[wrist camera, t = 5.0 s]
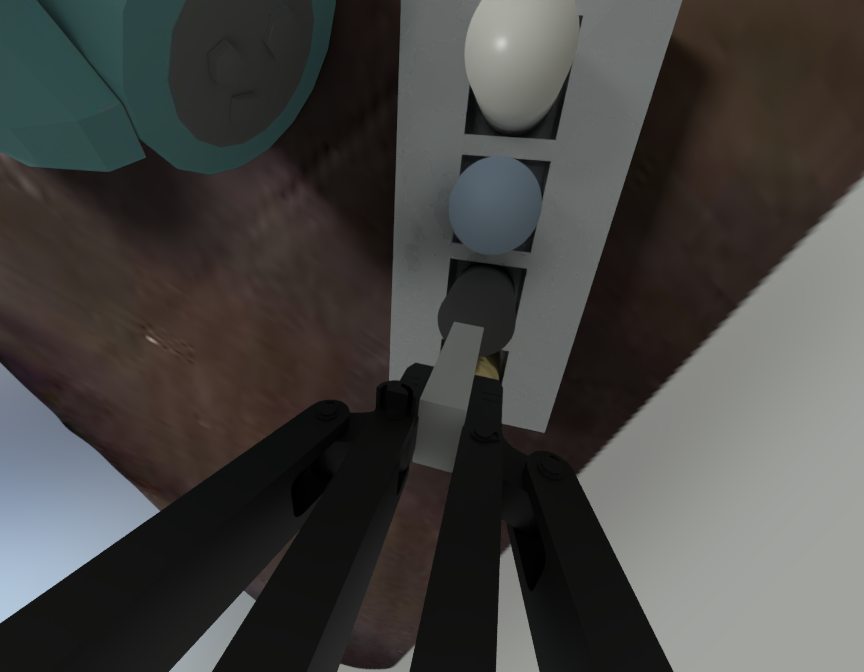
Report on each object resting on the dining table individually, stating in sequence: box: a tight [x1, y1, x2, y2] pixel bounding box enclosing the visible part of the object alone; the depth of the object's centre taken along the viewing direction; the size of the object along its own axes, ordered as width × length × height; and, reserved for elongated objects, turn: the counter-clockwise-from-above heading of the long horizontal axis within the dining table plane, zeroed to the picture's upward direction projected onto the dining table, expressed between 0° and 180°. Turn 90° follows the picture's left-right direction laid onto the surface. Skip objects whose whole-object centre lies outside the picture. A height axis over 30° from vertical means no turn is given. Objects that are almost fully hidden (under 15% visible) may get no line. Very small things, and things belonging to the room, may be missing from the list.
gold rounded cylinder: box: [474, 351, 501, 380], centre depth 24 cm, size 4×4×6 cm
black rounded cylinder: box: [438, 263, 516, 357], centre depth 20 cm, size 4×4×6 cm
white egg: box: [464, 0, 580, 136], centre depth 15 cm, size 4×4×6 cm
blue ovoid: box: [449, 156, 542, 255], centre depth 18 cm, size 4×4×6 cm
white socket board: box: [389, 0, 682, 433], centre depth 22 cm, size 13×26×4 cm, turn 175°
